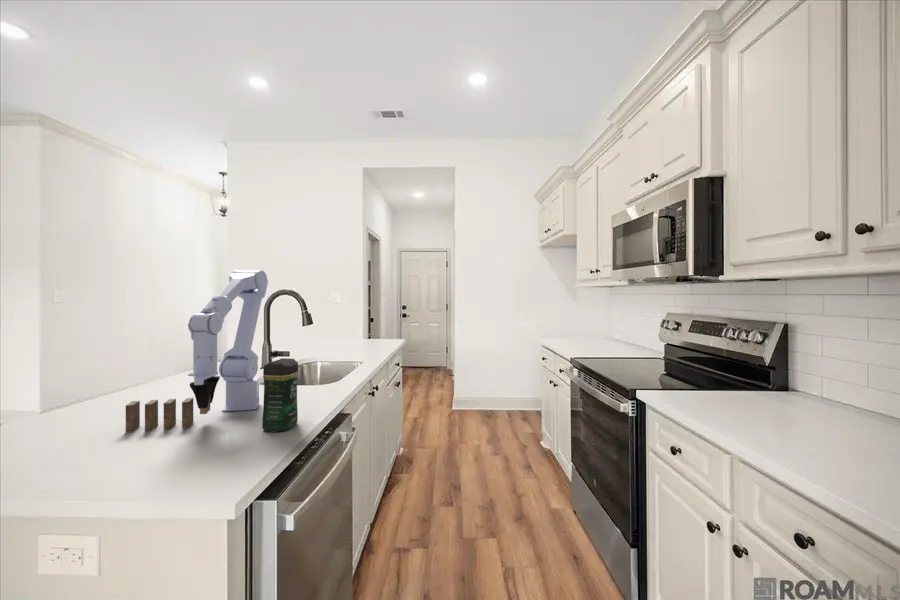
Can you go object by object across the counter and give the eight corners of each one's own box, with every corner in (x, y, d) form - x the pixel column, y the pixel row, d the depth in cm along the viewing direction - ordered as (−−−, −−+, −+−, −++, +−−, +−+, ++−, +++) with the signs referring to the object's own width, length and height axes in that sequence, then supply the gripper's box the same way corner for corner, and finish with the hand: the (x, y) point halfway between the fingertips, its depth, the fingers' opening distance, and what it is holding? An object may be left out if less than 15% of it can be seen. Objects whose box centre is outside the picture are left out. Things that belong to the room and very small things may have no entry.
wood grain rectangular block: (139, 426, 114) (139, 400, 114) (132, 431, 110) (132, 405, 110) (132, 427, 114) (132, 401, 114) (125, 432, 110) (125, 405, 110)
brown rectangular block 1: (158, 425, 116) (158, 399, 116) (152, 430, 111) (151, 404, 111) (151, 425, 115) (151, 400, 115) (144, 431, 111) (144, 404, 111)
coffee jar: (287, 433, 111) (287, 362, 110) (257, 432, 111) (258, 361, 111) (302, 422, 120) (302, 356, 120) (274, 421, 121) (275, 356, 120)
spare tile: (210, 409, 119) (210, 384, 119) (206, 413, 115) (206, 388, 115) (203, 409, 119) (203, 384, 119) (199, 414, 115) (199, 388, 115)
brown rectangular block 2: (175, 423, 117) (175, 398, 117) (170, 429, 113) (170, 402, 113) (169, 424, 117) (169, 399, 116) (163, 429, 112) (163, 403, 112)
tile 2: (193, 422, 118) (193, 397, 118) (188, 427, 114) (188, 401, 114) (186, 423, 118) (186, 398, 118) (182, 428, 114) (182, 402, 113)
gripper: (196, 353, 122) (195, 399, 123) (180, 361, 109) (180, 414, 109) (223, 352, 125) (223, 398, 125) (211, 360, 111) (211, 412, 111)
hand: (205, 405), depth 117 cm, fingers closed on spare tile, 4 cm apart
